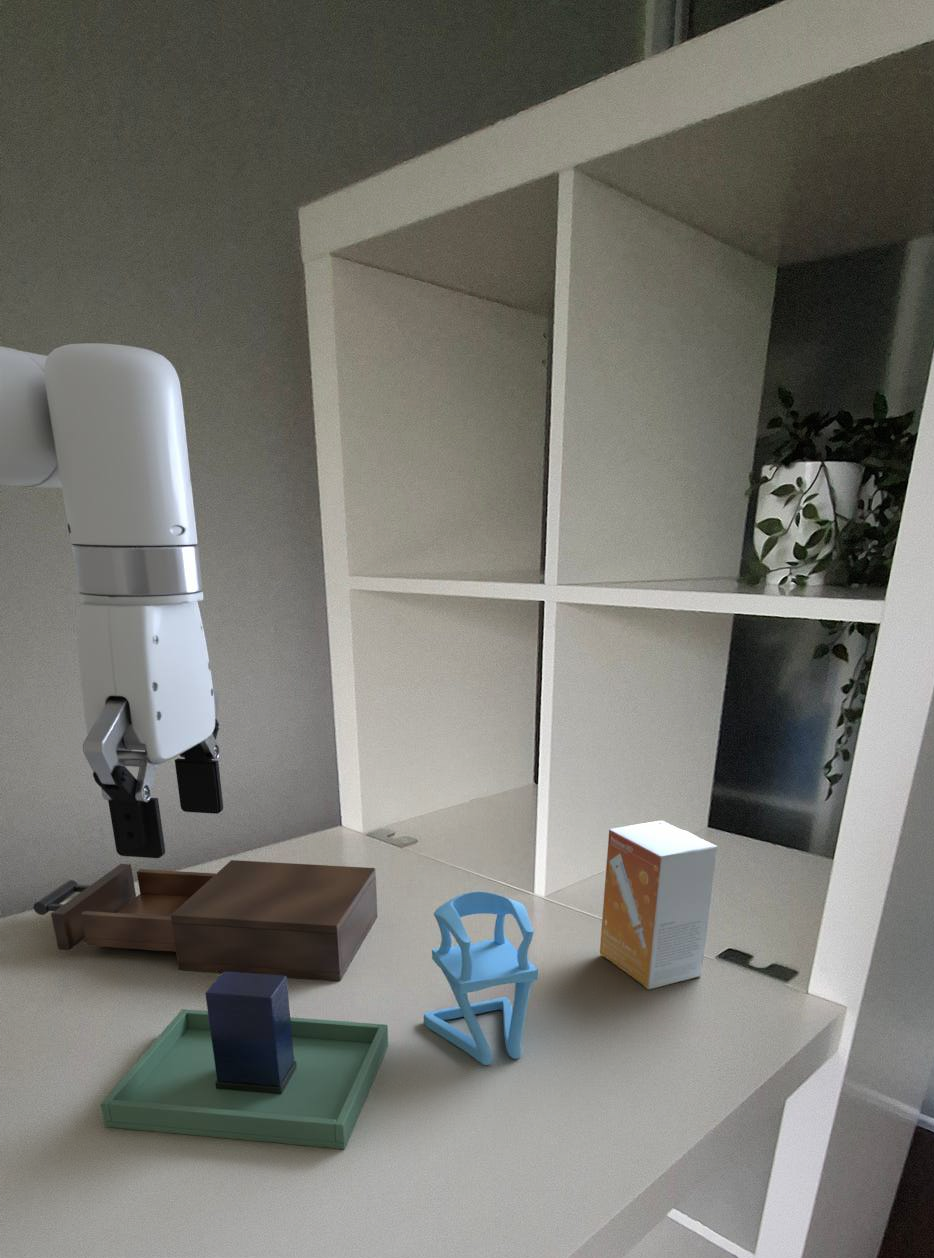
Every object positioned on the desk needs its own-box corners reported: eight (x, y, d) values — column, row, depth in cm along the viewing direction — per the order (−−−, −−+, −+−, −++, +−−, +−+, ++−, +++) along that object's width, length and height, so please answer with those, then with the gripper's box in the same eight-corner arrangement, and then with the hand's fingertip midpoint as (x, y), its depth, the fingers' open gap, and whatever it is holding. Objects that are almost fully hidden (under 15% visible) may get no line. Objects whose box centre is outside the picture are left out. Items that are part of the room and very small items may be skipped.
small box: (597, 955, 88) (606, 827, 83) (651, 943, 91) (663, 818, 85) (647, 991, 82) (661, 855, 76) (703, 977, 84) (720, 844, 79)
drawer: (16, 947, 87) (7, 910, 85) (88, 894, 99) (82, 861, 97) (203, 960, 85) (198, 923, 83) (254, 904, 97) (250, 870, 95)
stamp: (215, 1089, 66) (202, 993, 63) (234, 1062, 70) (222, 970, 66) (281, 1094, 66) (271, 998, 63) (297, 1067, 69) (288, 974, 66)
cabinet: (178, 969, 85) (170, 915, 82) (236, 908, 98) (231, 859, 96) (340, 981, 83) (336, 925, 81) (377, 917, 96) (375, 867, 94)
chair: (457, 1073, 69) (456, 931, 64) (422, 1021, 76) (419, 890, 71) (547, 1053, 72) (553, 915, 67) (506, 1005, 79) (508, 877, 74)
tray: (104, 1127, 63) (99, 1103, 62) (185, 1029, 75) (182, 1008, 74) (344, 1149, 61) (343, 1125, 60) (388, 1045, 73) (387, 1024, 72)
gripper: (147, 567, 66) (177, 795, 73) (1, 584, 50) (57, 872, 57) (246, 569, 65) (267, 800, 72) (129, 588, 49) (169, 880, 56)
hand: (174, 832), depth 65 cm, fingers open, 9 cm apart
